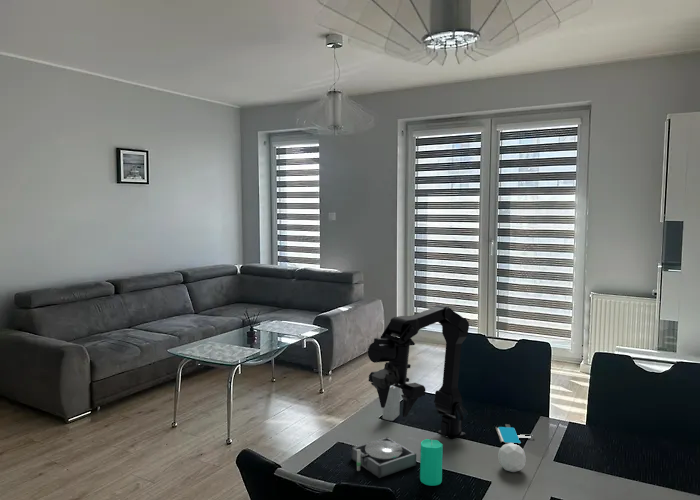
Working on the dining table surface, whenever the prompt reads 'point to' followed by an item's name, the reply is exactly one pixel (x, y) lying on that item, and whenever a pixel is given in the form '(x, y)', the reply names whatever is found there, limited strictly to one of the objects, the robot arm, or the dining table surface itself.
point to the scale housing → (383, 467)
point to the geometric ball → (512, 457)
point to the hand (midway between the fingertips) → (393, 412)
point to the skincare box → (392, 404)
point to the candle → (431, 462)
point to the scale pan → (382, 450)
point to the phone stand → (509, 434)
